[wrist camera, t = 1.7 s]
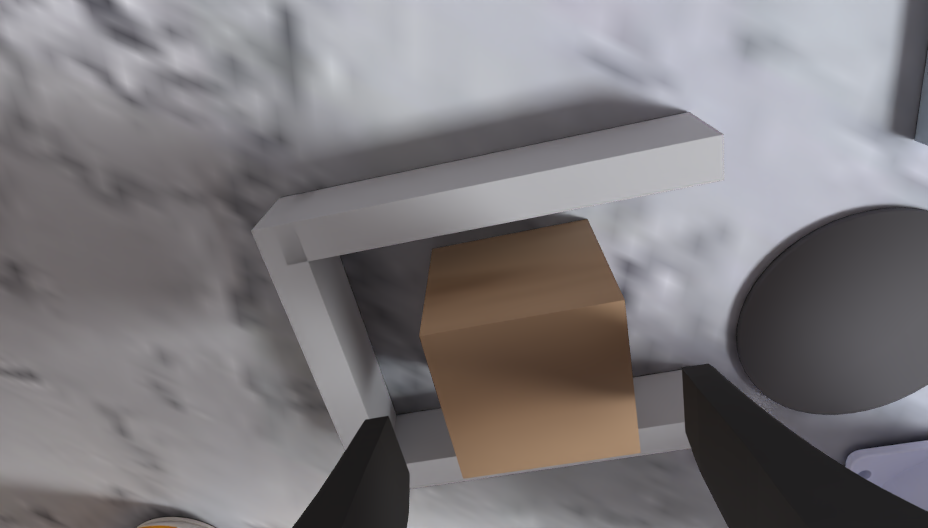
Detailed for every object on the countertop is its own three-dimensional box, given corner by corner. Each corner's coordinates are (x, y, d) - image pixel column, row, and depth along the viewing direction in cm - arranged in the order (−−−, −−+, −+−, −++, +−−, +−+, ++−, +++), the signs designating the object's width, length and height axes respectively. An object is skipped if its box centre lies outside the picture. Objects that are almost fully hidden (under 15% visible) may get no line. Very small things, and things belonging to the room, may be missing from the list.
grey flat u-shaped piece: (699, 392, 21) (726, 443, 18) (375, 442, 22) (364, 495, 20) (689, 112, 16) (723, 134, 14) (279, 197, 17) (250, 230, 15)
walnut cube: (603, 346, 20) (640, 452, 16) (465, 369, 21) (463, 478, 16) (586, 217, 18) (624, 300, 13) (432, 247, 18) (418, 335, 14)
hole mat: (964, 390, 20) (970, 395, 20) (736, 423, 21) (739, 429, 21) (1012, 184, 17) (1020, 187, 17) (736, 235, 18) (740, 239, 18)
